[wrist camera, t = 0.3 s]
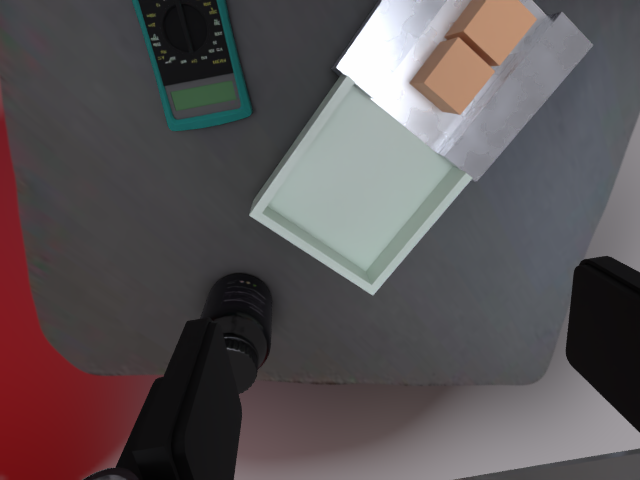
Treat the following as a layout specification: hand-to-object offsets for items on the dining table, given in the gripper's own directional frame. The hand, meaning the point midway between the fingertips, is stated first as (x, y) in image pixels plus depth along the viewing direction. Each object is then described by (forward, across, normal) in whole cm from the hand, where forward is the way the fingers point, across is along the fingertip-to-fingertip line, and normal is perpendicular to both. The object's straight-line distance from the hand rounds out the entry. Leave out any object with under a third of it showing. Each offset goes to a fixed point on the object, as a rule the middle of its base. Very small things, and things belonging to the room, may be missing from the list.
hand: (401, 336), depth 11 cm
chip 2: (+28, -11, -5) cm, 31 cm away
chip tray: (+30, -3, +3) cm, 31 cm away
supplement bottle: (+31, +10, +14) cm, 35 cm away
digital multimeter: (+31, +9, -11) cm, 34 cm away
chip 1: (+28, -14, -8) cm, 33 cm away
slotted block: (+30, -13, -7) cm, 33 cm away
